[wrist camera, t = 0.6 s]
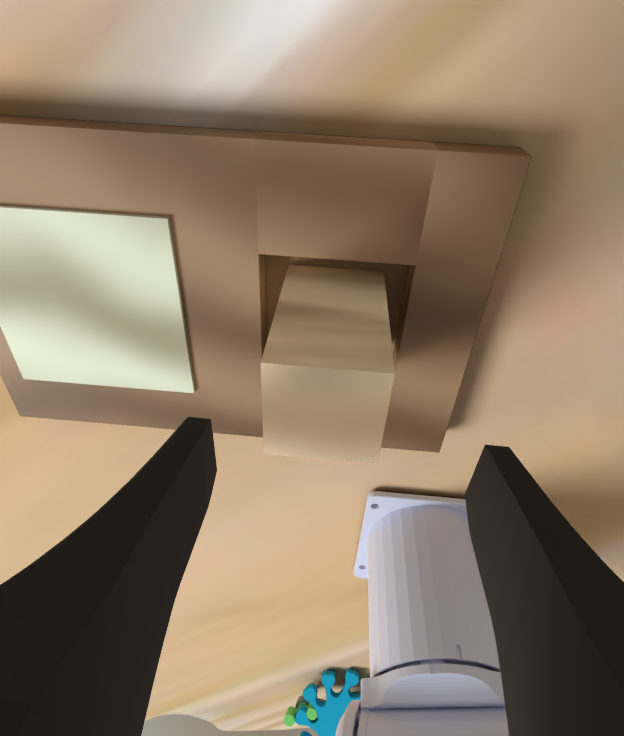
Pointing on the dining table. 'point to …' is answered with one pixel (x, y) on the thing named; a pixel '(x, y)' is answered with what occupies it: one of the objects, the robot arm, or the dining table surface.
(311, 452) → the maple block
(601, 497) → the dining table surface
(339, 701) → the gear
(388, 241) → the pocket board
